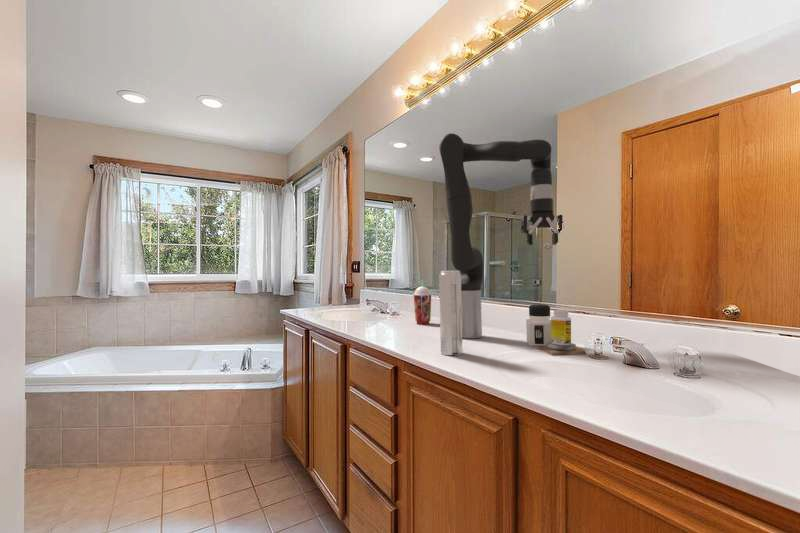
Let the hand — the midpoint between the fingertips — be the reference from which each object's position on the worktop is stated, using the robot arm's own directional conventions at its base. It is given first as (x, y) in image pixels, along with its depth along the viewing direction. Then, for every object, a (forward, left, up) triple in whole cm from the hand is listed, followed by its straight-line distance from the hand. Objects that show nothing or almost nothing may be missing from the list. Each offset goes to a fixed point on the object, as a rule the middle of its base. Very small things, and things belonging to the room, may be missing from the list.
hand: (542, 244), depth 138 cm
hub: (-3, -20, -33) cm, 39 cm away
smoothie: (-39, +44, -33) cm, 68 cm away
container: (-5, -9, -33) cm, 35 cm away
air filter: (-36, -19, -33) cm, 53 cm away
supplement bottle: (-3, -20, -31) cm, 37 cm away
